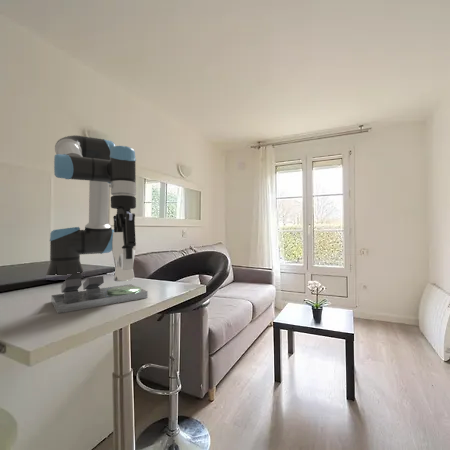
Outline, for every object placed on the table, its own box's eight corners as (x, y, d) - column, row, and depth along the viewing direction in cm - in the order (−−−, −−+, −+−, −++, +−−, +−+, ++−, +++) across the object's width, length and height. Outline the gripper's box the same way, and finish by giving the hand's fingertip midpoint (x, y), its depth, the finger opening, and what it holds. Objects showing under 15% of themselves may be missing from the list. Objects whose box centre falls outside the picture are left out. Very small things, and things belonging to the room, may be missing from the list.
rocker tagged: (61, 292, 81) (61, 285, 82) (76, 290, 84) (75, 283, 84) (65, 287, 75) (65, 279, 75) (81, 285, 77) (81, 277, 78)
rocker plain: (83, 289, 85) (83, 283, 86) (97, 287, 88) (96, 281, 88) (89, 284, 78) (88, 277, 79) (103, 282, 81) (103, 276, 81)
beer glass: (120, 277, 88) (120, 232, 89) (140, 277, 87) (139, 231, 87) (107, 281, 82) (107, 232, 82) (128, 281, 80) (127, 231, 81)
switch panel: (51, 301, 81) (51, 290, 81) (131, 289, 95) (131, 280, 96) (57, 313, 69) (57, 300, 69) (147, 297, 84) (147, 286, 84)
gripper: (102, 198, 90) (103, 266, 90) (121, 191, 75) (121, 273, 74) (125, 199, 95) (126, 264, 94) (146, 193, 79) (147, 270, 79)
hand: (124, 268), depth 84 cm, fingers closed on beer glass, 7 cm apart
